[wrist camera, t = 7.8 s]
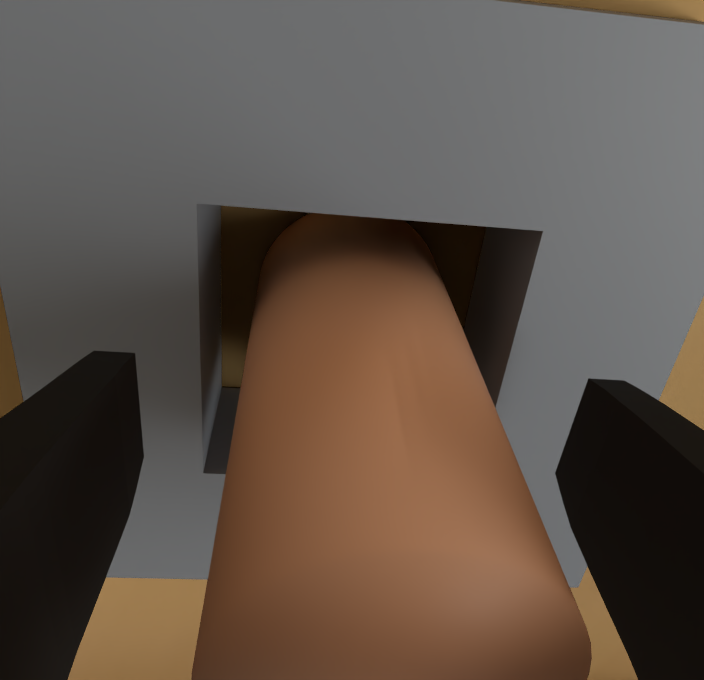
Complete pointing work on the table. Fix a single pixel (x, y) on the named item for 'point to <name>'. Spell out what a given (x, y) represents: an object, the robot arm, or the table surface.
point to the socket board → (346, 202)
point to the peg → (375, 486)
